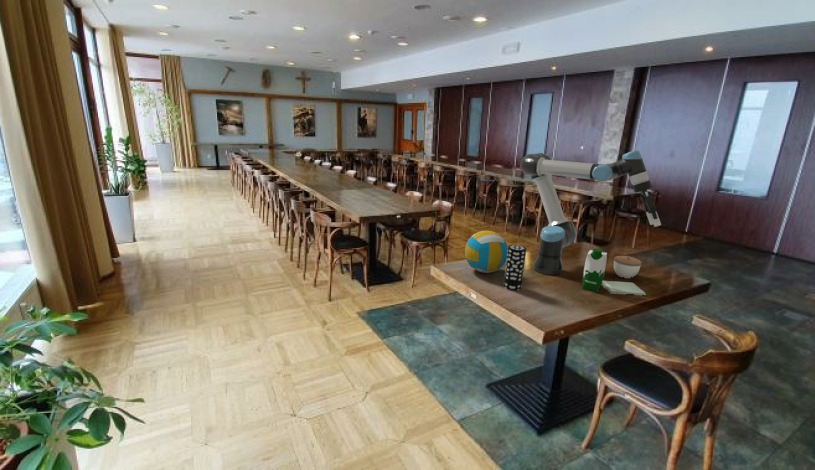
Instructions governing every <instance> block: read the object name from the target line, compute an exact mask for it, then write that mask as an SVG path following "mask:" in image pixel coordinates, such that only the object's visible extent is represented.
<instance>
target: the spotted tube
mask: <svg viewBox="0 0 815 470" xmlns="http://www.w3.org/2000/svg"><path fill="white" fill-rule="evenodd" d="M507 247H508V252H507V260H506V262H505V270H504V276H503V277H504V278H503V288H504V289H506V290H508V291H512V292H513V291H521V290H522V285H523V280H524V279H523V277H524V270H525V264H526V263H525V262H526V254H527V247H525V246H523V245H519V244H509V245H507Z"/></svg>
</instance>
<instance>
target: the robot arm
mask: <svg viewBox="0 0 815 470" xmlns="http://www.w3.org/2000/svg"><path fill="white" fill-rule="evenodd" d="M519 167H520V170H521V172H522V173H523V174H524V175H527V176H530V178H531V181H532V182H535V184H536V187H537V190H538V193H539V196H540V199H541V203H542V205H543V208H544V211H545V214H546V217H547V220H548V225H547V226H544V227H542V229H541V232H540V239H539V246H538V254H537V256H536V258H535V261H534V262H533V266H532V269H533V270H534V271H535V272H538V273H541V274H544V275H548V276H549V275H550V276H556V275H557V276H558V275H561V274H562V273H563V270H564V268H563V261H562V253H563V249H564V248H566V247H568V246H570V245H571V244H573V243H574V242H575V240H576V238H577V231H576V229H575V227H574V226H572V224H571V223H570V220H569V219H568V218H566V217H565V214H564V211H563V209H562V205H561V202H560V199H559V196H558V193H557V190H556V187H555V185H554V180H553V179H552V176H559V177H566V178H575V179H576V178H577V179H586V180H594V181H598V182H608V181H611V180H614V179H617V178H620V177H622V176H625V175H628V177H629V180H630V183H631V185H632V189H633V191H634V193H639V198H640V199H641V202H642V205H643V209H644V211H645V214H646V216H647V220H648V222H649V226H652V225H653V227H654V228H655V227H656V228H657V227H659V226H661V225H662V222H661V219H660V218H659V214H658V211H657V207H656V205H655V203H654V200H653V198H652V194H651V192H650V191H648V190H651V189H652V187H653V185H652V183H651V181H650V177H649V175H650V173H649V172H647V169H646V166H645V163H644V160H643V157H642V155H641V153H640V150H632V151H629V152H627V153H624V154H622V157H621V159H620V160H616V161H614V162H612V163H605V164H603V163H602V164H601V163H588V162H581V161H580V162H577V161H566V160H553V159H552V157H551V156H550V155H548V154H547V153H542V152H538V153H529V154H526V155H525V156H523V157H522V158H521V160H520V162H519Z"/></svg>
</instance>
